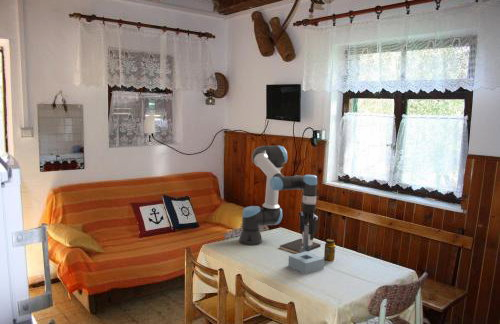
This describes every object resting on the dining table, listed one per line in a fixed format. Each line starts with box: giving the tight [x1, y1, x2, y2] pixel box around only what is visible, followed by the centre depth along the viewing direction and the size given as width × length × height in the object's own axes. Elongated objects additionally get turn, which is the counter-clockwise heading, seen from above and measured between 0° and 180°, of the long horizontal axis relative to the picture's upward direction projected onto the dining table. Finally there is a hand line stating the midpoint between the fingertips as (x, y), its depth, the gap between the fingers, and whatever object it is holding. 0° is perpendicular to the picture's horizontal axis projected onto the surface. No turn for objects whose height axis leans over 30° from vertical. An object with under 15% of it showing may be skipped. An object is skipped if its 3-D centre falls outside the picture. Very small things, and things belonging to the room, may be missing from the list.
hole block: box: [287, 251, 325, 275], centre depth 231 cm, size 14×14×6 cm
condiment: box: [323, 238, 338, 264], centre depth 244 cm, size 7×8×12 cm
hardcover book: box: [279, 238, 322, 254], centre depth 265 cm, size 16×23×2 cm
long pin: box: [303, 223, 312, 251], centre depth 229 cm, size 4×4×14 cm
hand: (307, 243), depth 229 cm, fingers closed on long pin, 4 cm apart
